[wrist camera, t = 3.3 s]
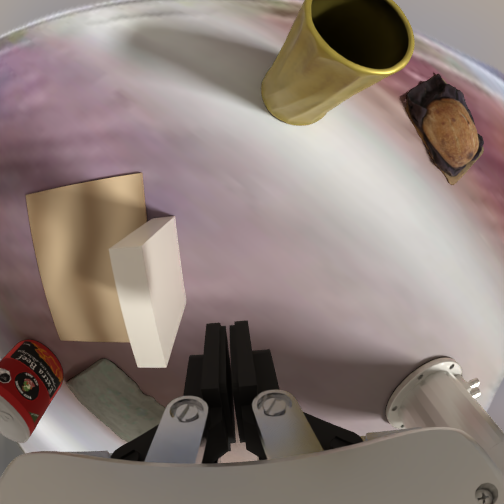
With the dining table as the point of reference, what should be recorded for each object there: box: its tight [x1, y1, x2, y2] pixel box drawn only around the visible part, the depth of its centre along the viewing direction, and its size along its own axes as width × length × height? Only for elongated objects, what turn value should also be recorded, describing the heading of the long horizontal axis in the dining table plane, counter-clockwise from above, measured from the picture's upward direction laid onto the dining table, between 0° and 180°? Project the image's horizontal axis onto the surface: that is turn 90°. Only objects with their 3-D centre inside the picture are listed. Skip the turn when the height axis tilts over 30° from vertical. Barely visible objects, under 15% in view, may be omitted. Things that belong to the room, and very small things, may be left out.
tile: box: [109, 216, 186, 368], centre depth 21 cm, size 2×8×10 cm, turn 4°
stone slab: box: [66, 359, 166, 442], centre depth 32 cm, size 22×3×10 cm
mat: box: [26, 173, 147, 342], centre depth 26 cm, size 13×16×1 cm
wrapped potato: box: [405, 74, 484, 185], centre depth 23 cm, size 11×8×4 cm
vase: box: [261, 0, 414, 126], centre depth 16 cm, size 6×6×14 cm
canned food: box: [0, 340, 63, 443], centre depth 23 cm, size 8×8×11 cm
